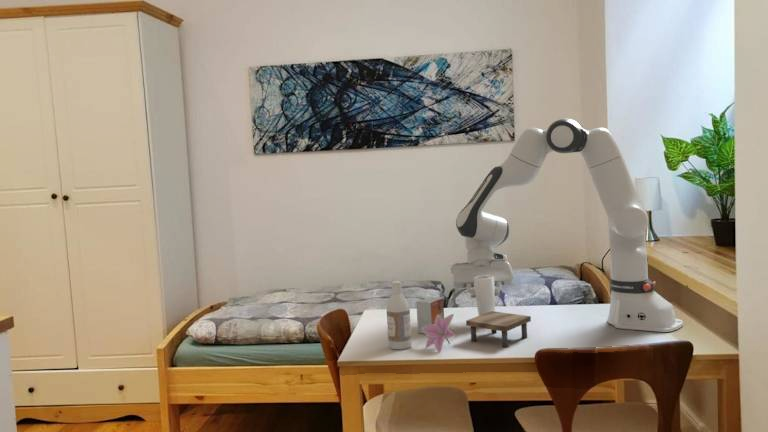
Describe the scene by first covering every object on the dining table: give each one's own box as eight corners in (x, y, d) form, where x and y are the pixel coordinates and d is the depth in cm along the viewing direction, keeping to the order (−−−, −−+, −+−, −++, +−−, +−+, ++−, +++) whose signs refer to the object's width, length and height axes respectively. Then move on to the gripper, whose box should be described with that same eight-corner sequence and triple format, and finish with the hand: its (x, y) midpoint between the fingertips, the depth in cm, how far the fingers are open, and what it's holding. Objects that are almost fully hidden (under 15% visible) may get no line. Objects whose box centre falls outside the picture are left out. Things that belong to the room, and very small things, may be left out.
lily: (422, 345, 207) (411, 322, 202) (455, 327, 208) (445, 304, 204) (436, 367, 196) (425, 343, 192) (471, 348, 197) (461, 324, 193)
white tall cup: (497, 323, 218) (493, 278, 216) (476, 324, 219) (472, 279, 218) (498, 318, 224) (494, 274, 223) (477, 318, 226) (473, 275, 224)
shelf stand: (531, 337, 205) (530, 316, 204) (506, 348, 194) (505, 326, 194) (492, 331, 214) (491, 311, 214) (467, 341, 204) (466, 320, 203)
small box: (432, 335, 214) (430, 302, 213) (417, 333, 217) (415, 301, 216) (445, 329, 220) (443, 297, 219) (431, 327, 223) (429, 296, 222)
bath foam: (384, 347, 203) (380, 282, 202) (402, 342, 207) (399, 278, 206) (397, 351, 198) (393, 285, 196) (416, 346, 202) (412, 281, 200)
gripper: (450, 258, 227) (453, 292, 218) (510, 254, 226) (516, 288, 217) (450, 269, 232) (453, 302, 223) (509, 265, 231) (515, 299, 222)
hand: (485, 296), depth 220 cm, fingers closed on white tall cup, 6 cm apart
